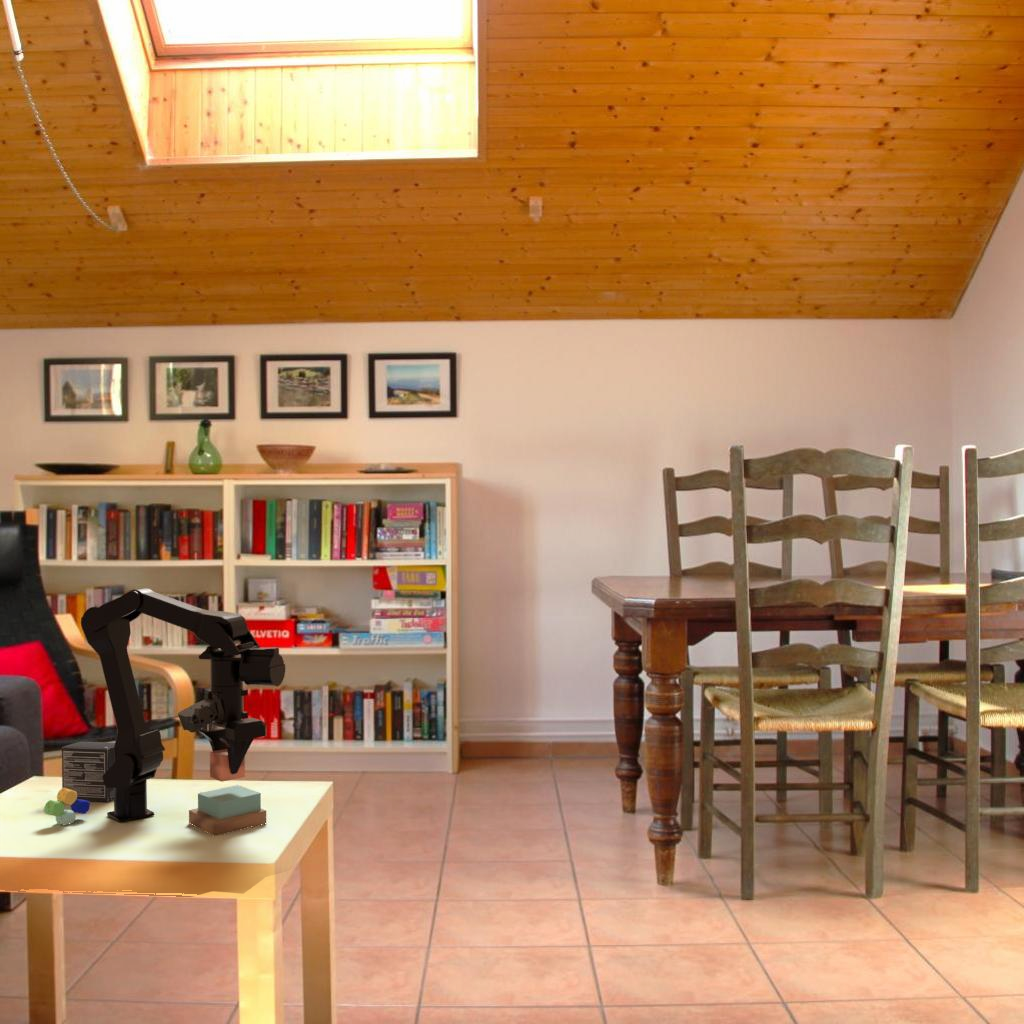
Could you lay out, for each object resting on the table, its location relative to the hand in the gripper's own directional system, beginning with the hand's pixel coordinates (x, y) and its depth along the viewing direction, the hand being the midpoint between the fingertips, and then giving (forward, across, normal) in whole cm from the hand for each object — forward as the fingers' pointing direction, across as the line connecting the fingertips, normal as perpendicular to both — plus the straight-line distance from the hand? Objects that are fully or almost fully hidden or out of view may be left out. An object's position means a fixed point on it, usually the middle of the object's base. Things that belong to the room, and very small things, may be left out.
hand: (227, 771), depth 188 cm
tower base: (+10, 0, 0) cm, 10 cm away
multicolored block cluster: (+10, -21, -21) cm, 31 cm away
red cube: (+1, 0, 0) cm, 1 cm away
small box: (+10, -35, -11) cm, 38 cm away
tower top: (+7, 0, 0) cm, 7 cm away
